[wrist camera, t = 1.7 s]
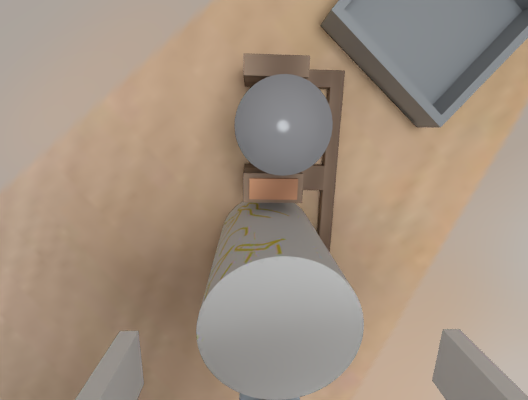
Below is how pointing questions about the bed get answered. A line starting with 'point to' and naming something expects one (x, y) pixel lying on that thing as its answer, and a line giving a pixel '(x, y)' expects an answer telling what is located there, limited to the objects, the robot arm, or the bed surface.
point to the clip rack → (317, 176)
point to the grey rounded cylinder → (283, 124)
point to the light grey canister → (276, 306)
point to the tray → (428, 48)
